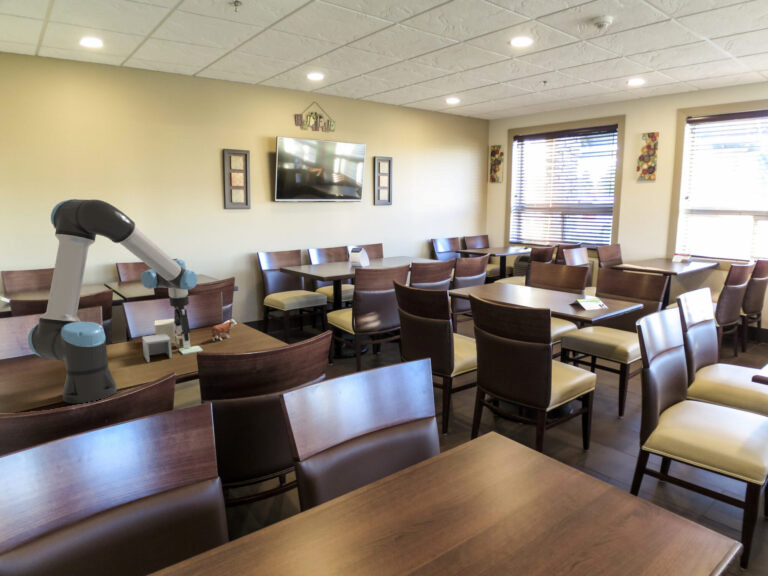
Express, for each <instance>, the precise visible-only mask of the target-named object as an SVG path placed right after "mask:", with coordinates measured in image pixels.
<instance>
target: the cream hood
mask: <svg viewBox="0 0 768 576" xmlns="http://www.w3.org/2000/svg"><path fill="white" fill-rule="evenodd" d="M154 330H155V335H158V334H165V333H166V334H167V335H168V337H169V338H170V339H171V345H173V344H174V345H175V335H176V325H175V323H174V318H165V319H156V320H154Z"/></svg>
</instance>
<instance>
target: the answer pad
mask: <svg viewBox="0 0 768 576" xmlns="http://www.w3.org/2000/svg"><path fill="white" fill-rule="evenodd" d="M178 351H179V352H180V353H181V355H182V356H186V355H191V354H196V353H197V352H198V353H203V352H204V350H203V348H202V347H201V346H199V345H194V346H191V348H185V349H184V348H178Z"/></svg>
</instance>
